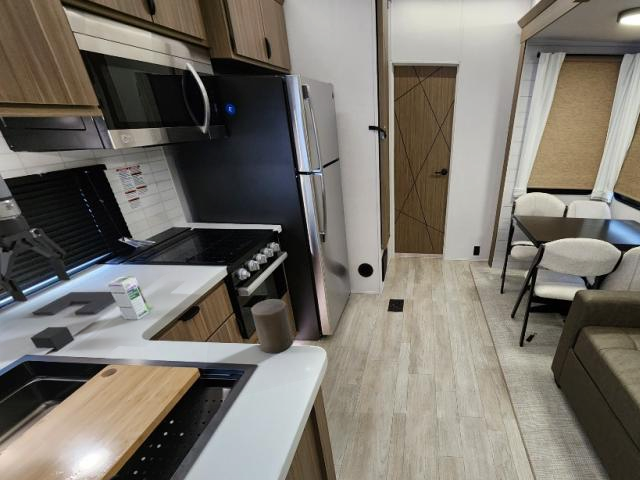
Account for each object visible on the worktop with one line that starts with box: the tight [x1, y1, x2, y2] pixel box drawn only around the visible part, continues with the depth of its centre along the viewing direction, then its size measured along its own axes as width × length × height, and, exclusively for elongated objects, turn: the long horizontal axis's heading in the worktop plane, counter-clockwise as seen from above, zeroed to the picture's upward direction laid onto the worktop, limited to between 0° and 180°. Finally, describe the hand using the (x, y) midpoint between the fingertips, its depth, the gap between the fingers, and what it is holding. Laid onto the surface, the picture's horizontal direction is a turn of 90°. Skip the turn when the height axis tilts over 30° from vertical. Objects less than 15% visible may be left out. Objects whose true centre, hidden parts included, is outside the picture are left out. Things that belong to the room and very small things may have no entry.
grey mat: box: [32, 291, 116, 316], centre depth 126 cm, size 22×16×2 cm
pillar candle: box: [250, 298, 294, 354], centre depth 100 cm, size 10×10×15 cm
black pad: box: [30, 326, 75, 352], centre depth 103 cm, size 6×6×5 cm
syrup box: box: [106, 275, 151, 320], centre depth 117 cm, size 6×6×14 cm
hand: (44, 290), depth 96 cm, fingers open, 13 cm apart
